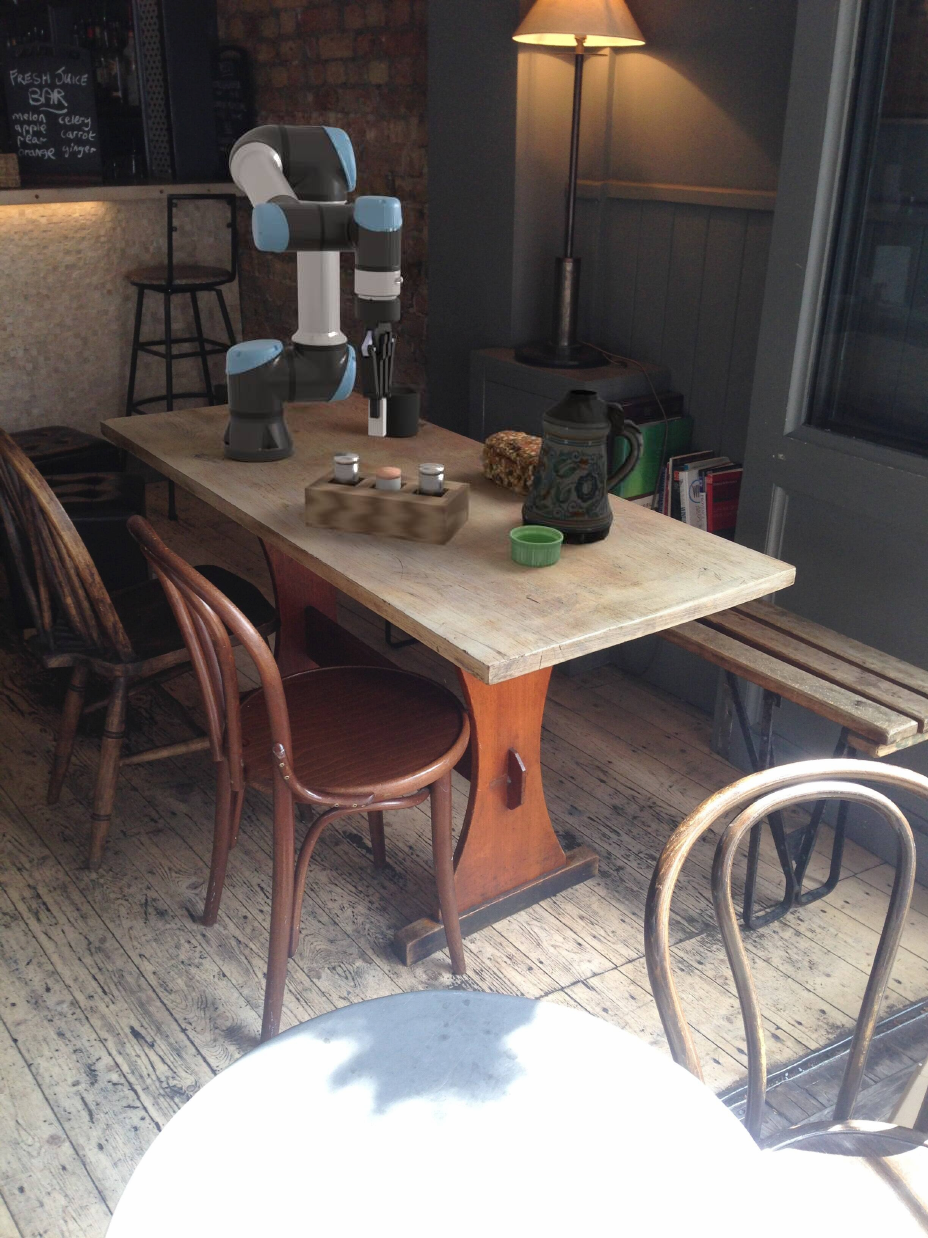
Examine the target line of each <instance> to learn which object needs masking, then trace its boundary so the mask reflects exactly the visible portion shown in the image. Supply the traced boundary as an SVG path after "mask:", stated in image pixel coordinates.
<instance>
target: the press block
mask: <svg viewBox="0 0 928 1238" xmlns="http://www.w3.org/2000/svg"><path fill="white" fill-rule="evenodd" d="M470 485H471V483H467V482H457V481H451V480H444V489H443V496H442V497H441V498H440V497H432V496H425V495H418V488H419V476H412V475H402V474H401V489H400V490H399V491H398V492H394V491H386V490H378V489H376V471H370V470H362V469H359V484H358V485H356V486H347V485H340V484H334V468H332V469H331V470H329V471H328V472H327V473H325V474H323V475H322V476H321V477H320V478H319V477H318V479H316V480H314V481H313V482H311V483H310V484H308V485H307V486H305V487H304V514H305V516H304V518H305V526H306V527H313V528H319V529H327V530H333V531H339V532H340V531H341V532H347V533H348V532H349V533H355V534H362V535H368V536H376V537H382V538H390V539H398V540H404V541H412V542H419V543H425V544H432V545H439V546H445V545H447V543H448V542H449V541H450V540H451V539H453V537H454V536H455V535H456V534H457V533H458V532H459V531H460V530H461V529H462V527H464V526H465V524H467V522H468V521H469V513H470V511H469V509H470V506H469V505H470Z"/></svg>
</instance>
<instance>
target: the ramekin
mask: <svg viewBox="0 0 928 1238" xmlns="http://www.w3.org/2000/svg"><path fill="white" fill-rule="evenodd" d="M508 536H509V539H510V555H511V559H512V560H513V561H514V562H516V563H517V564H519V565H523V566H527V567H536V568H537V567H538V568H539V567H540V568H542V567H548V566H549V567H550V566H552V565H554V564H556V563H558V561H559V560H560V554H561V550H562V549H561V548H562V544H561V543H562V541H563V534H562V533H561V532H560V531H558V530H556V529H553V528H549V527H544V526H523V525H522V526H518V527H515V528H512V530H510V532H509V535H508Z"/></svg>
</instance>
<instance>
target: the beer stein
mask: <svg viewBox="0 0 928 1238" xmlns="http://www.w3.org/2000/svg"><path fill="white" fill-rule="evenodd" d="M541 415H542V416H541V423H542V428H543V435H542V438H541V439H542V444H541V448H540V453H539V457H538V462H537V466H536V470H535V474H534V478H533V481H532V485H531V488H530V491H529V493H528V496H527V495H526V498H525V500H524V502H523V504H522V506H521V510H520V511H521V517H522V526H544V527H549V528H553V529H556V530H558V531H560V532H561V533H562V534H563V541H562V543H561V545H569V546H571V545H575V546H579V545H580V546H582V545H588V544H594V543H598V542H601V541H604V540H605V539H606V538H607V537H608V536H609V534H610V531H611V526H612V524H613V521H614V513H613V510H612V508H611V505H610V504H611V503H610V500H609V499H610V498H609V494H610V493H611V492H613V491H614V490H616V489H617V488H618V487H619V486H621V485H622V484H624V482H625V481H626V480H627V479H628V478H629V477H630V476H631V475H632V474H633V472H635V470H636V468H637V467H638V465H639V463H640V461H641V458H642V456H643V452H644V451H643V450H644V440H643V436H642V434H643V431H642V429H641V428H640V427H639V426H637V425H636V423H635V422H634V421H632V420H630V419H626V414H625V411H624V409H623V408H622V406H621V404H619V403H617V402H612V401H606V400H604V399H602V398H601V397H600V396H599V392H596V391H595V390H594V391H593V390H588V389H570V390H568V391H567V393H566V394H565V396H564V397H563V398H561V400H559V401H557V402H556V403H554V404H553V405H551V406H550V407H549V408H547V409H545V411H544V412H543V414H541ZM608 436H611V437H622V438H624V439H626V440H627V442H628V445H629V451H628V454H627V455H626V457H625V459H624V461H623V463H622V464H621V465H620V466H618V468H617V469H616V470H614V472H613V473H612V474H611V475H608V451H607V450H608V449H607V445H608V444H607V443H608V442H607V441H608Z"/></svg>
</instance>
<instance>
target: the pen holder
mask: <svg viewBox="0 0 928 1238" xmlns="http://www.w3.org/2000/svg"><path fill="white" fill-rule="evenodd" d="M388 393H392V395H391V397H385V398H386V435H385V436H386V437H390V438H399V439H401V438H402V439H405V438H412V437H415V436H416V435H417V434H418V432H419V421H420V420H419V419H420V418H419V417H420V406H421V405H420V404H421V402H420V400H421V393H419V392H418V391H417V390H416V389H415V388H414V387H411V386H405V385H403V386H402V385H398V386H397V385H395V386H394V385H393V386H392V385H391V390H390V391H388ZM385 436H384V437H385Z"/></svg>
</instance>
